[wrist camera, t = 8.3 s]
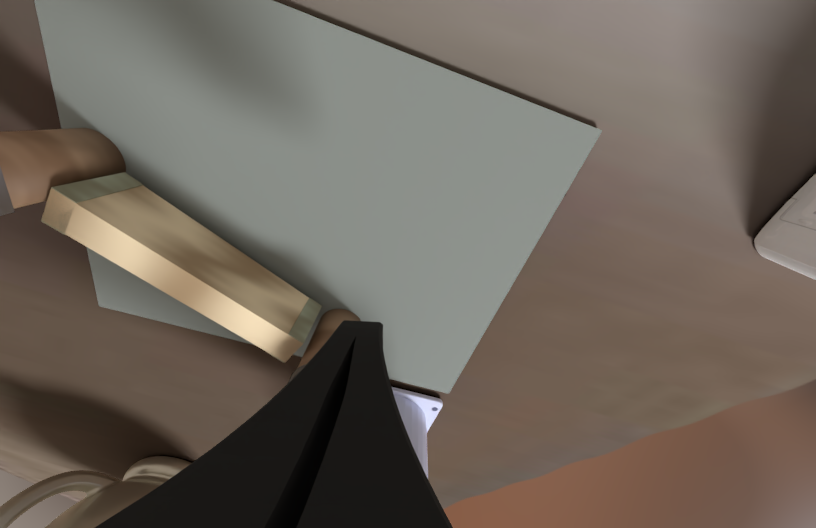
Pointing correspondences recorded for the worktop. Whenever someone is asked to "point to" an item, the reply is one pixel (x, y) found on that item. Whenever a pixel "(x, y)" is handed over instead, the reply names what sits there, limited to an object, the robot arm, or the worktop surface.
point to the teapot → (94, 492)
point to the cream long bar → (182, 260)
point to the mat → (318, 163)
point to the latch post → (51, 162)
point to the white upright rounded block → (792, 233)
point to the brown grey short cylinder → (324, 333)
